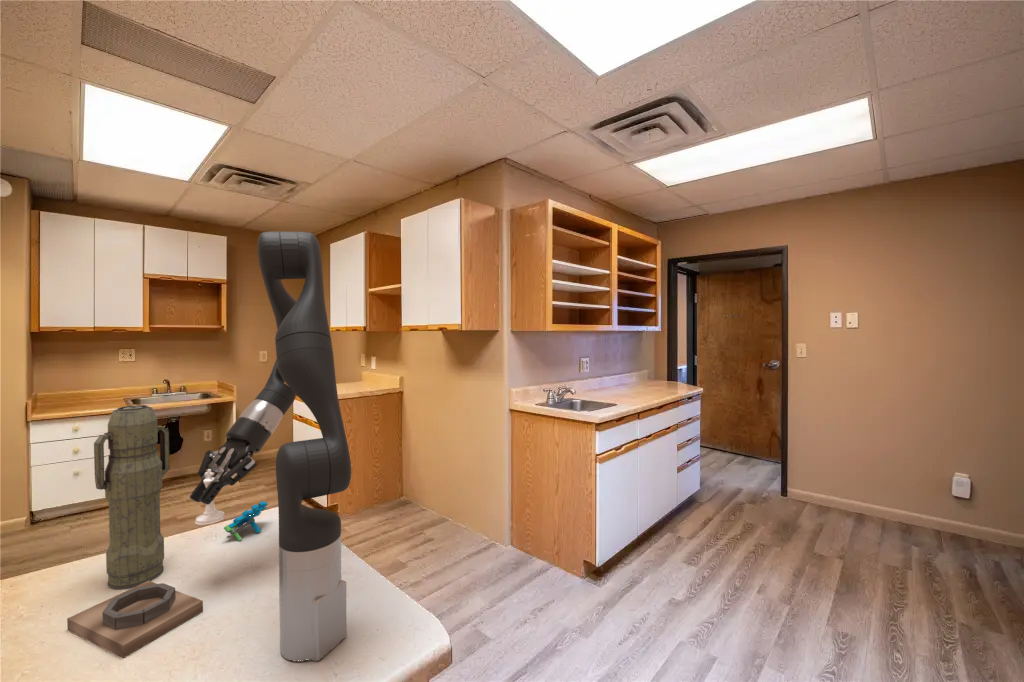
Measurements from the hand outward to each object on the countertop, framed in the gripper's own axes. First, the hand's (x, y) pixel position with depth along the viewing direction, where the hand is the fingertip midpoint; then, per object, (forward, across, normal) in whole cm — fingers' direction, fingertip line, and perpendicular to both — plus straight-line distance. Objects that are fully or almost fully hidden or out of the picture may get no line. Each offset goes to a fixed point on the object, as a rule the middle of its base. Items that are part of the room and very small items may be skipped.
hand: (199, 501), depth 85 cm
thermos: (+14, -17, +11) cm, 24 cm away
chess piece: (+2, 0, +5) cm, 5 cm away
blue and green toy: (-1, -14, +27) cm, 30 cm away
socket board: (+20, -1, +5) cm, 20 cm away
